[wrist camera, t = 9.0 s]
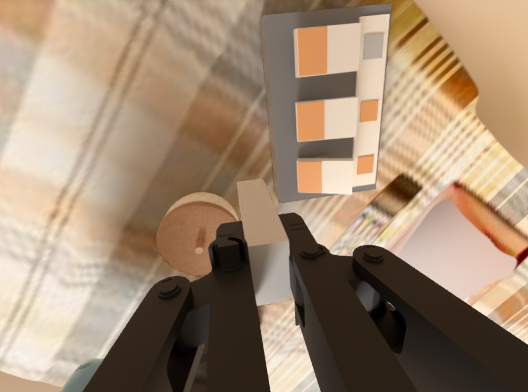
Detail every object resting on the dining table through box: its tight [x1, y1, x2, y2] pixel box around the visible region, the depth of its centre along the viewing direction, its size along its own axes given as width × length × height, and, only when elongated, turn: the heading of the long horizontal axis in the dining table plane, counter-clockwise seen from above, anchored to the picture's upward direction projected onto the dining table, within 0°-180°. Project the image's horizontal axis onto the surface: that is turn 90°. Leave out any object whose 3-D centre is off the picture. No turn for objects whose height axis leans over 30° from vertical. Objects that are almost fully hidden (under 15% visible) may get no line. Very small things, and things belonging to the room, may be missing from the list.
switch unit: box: [259, 3, 392, 203], centre depth 34 cm, size 22×14×5 cm, turn 6°
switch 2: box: [295, 96, 358, 142], centre depth 31 cm, size 4×7×1 cm, turn 96°
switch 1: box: [293, 23, 361, 78], centre depth 28 cm, size 4×7×1 cm, turn 96°
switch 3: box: [297, 158, 354, 195], centre depth 34 cm, size 4×7×1 cm, turn 96°
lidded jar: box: [156, 192, 239, 275], centre depth 36 cm, size 11×11×9 cm
